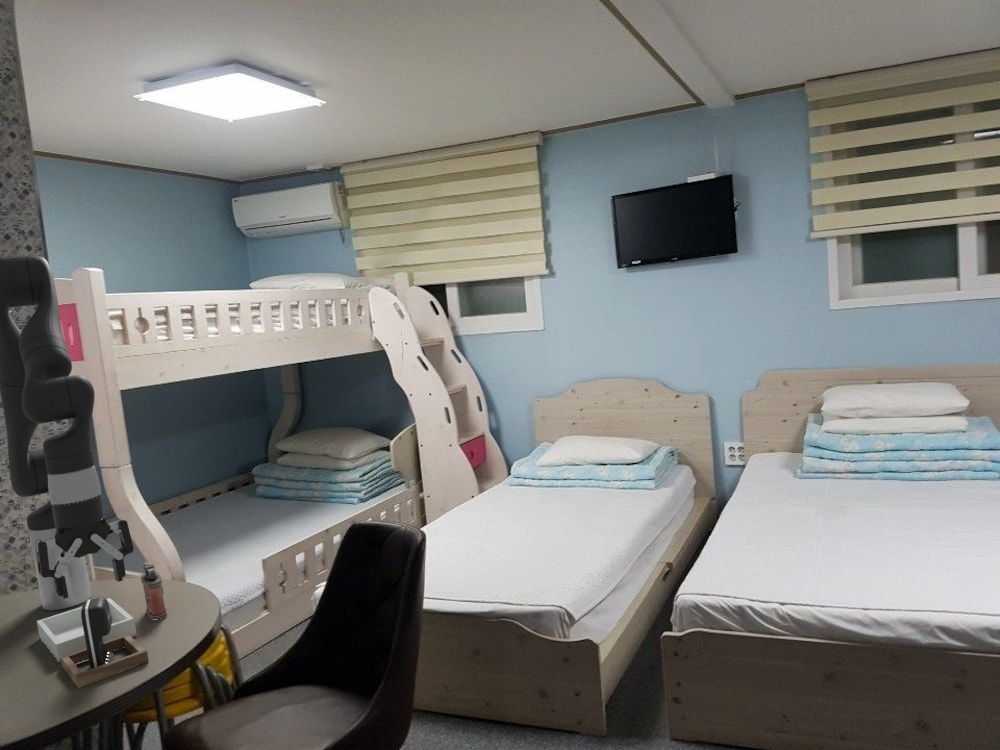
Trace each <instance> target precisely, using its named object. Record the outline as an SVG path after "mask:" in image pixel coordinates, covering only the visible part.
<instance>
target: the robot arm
mask: <svg viewBox="0 0 1000 750" xmlns="http://www.w3.org/2000/svg"><path fill="white" fill-rule="evenodd" d="M28 306H29V307H31V306H37V308H36V310H35V311H34V313H33V314H32V316H30V319H29V320H28V321H27V322H26V324H25V325H24V327H22V328H23V329H22V330H21V329H20V328H19V326H18V325H17V324H16V322H15V321H14V319H13V318H12V315H11V314H10V313H9V309H10V308H18V307H28ZM72 370H73V364H72V360H71V356H70V353H69V351H68V348H67V343H66V341H65V339H64V334H63V331H62V324H61V316H60V307H59V300H58V295H57V289H56V283H55V278H54V275H53V271H52V268H51V264H49V262H48V260H47V259H45V258H44V257H43V256H40V255H22V256H21V255H19V256H2V257H1V256H0V398H1V403H2V409H3V410H2V411H3V414H4V421H5V427H6V436H7V437H6V438H7V439H6V440H7V453H8V468H9V471H8V472H9V478H10V479H9V480H10V484H11V486H12V490H13V492H14V493H15V494H16V495H17V496H18V497H21V498H27V497H34V496H38V495H43V494H49V501H47V502H46V503H44V505H42V506H40V507H38V508H36V509H35V510H33V511H32V512H31V513H29V514H28V515H27V516H26V517H27V518H26V523H27V529H28V534H29V539H30V546H31V550H32V556H33V560H34V561H33V562H34V566H35V572H36V577H37V578H36V579H37V582H38V589H39V595H40V601H41V605H42V606H41V607H42V609H43V610H45V611H58V610H64V609H68V608H72V607H75V606H78V605H80V604H83V603H84V602H85V601H87V600H89V599H91V597H92V592H91V586H90V580H89V573H88V568H87V562H86V557H85V556H87V555H89V554H90V555H92V554H93V555H94V554H97V553H98V552H100V550H101V549H102V550H103V551H105V552H106V553H107V554H109V555H110V556H111V557H112V558H111V563H112V568H113V569H112V570H113V574H114V579H115V581H116V582H118V583H119V582H122V581H123V580H124V578H125V577H126V574H127V573H126V569H125V562H124V559H125V557H126V556H127V555H128V554H132V553H133V552H134V545H133V541H132V537H131V532H130V528H129V525H128V521H127V520H125V519H123V518H120V517H119V518H117V519H116V520H115V521H111V522H109V523H108V522H107V520H106V519H107V518H106V514H105V513H106V512H105V507H104V501H103V496H102V487H101V484H100V480H99V475H98V472H97V469H96V466H95V461H94V456H93V455H94V453H93V449H92V441H91V440H92V438H91V437H92V436H91V429H92V427H91V426H92V418H93V413H94V406H95V394H96V393H95V390H94V389H95V387H94V386H93V384H92V383H91V381H90V380H89V379H88V378H87V377H86V376H84V375H80V374H74V375H73V374H72V375H71V372H72ZM70 419H73V423H72V424H71V426H70V428H69V429H67V430H65V431H63V432H61V433H58V434H55V435H52V436H50V437H48V438H46V439H45V440H44V442H43V444H42V448H39V449H33V450H29V447H30V443H31V441H32V437H33V436H34V433H35V431H36V430H37V427H38V426H39V424H46V423H47V424H48V423H52V422H58V421H64V420H70ZM111 530H113V532H114V533H115V534H118V536H119V540H120V544H121V547H120V548H118V549H117V548H115V547H114V546H113V545H112V544H110V543H109V542H108V541H107V538H108V536H109V535H110V532H111Z"/></svg>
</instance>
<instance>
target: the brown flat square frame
mask: <svg viewBox="0 0 1000 750" xmlns="http://www.w3.org/2000/svg"><path fill="white" fill-rule="evenodd" d="M103 643H104V645H105V646H106V648H107V649H108V650H109V651H110V652H112V651H114V650H117V649H120V648H123V647H126V648H127V649H128V650H129V651H130V652H131V653H132V654H131V653H130V652H129V651H128V650H127V649H126V648H125V649H126V650H127V651H128V652H129V653H130V654H129V655H127V656H124V657H120V658H117V659H114V660H113V661H112V662H109V663H106V664H104V665H101V666H98V667H95V668H93V669H87V670H85V671H83V672H82V671H81V670H80V669H79V668H78V665H75V664H76V663H78V662H81V661H83V660H87V659H89V657H88V652H87V648H85V649H82V650H79V651H77V652H74V653H71V654H68V655H65V656H62V657H61V662H62V663H61V666H62V669H63V668H64V669H65V670H64V669H63V670H64V672H65V671H66V672H67V673H66V672H65V673H66V674H67V676H69V678H70V680H71V681H72V682H73V683H74V684H75V685H76V687H77V688H78V689H81V688H84V687H86V686H90V685H92V684H95V683H97V682H100V681H103V680H105V679H108V678H110V676H111V677H113V676H116V675H118V674H117V673H119V674H121V673H122V672H121V671H124V670H127V669H129V670H131V669H130V668H132V667H134V666H137V665H140V664H143V663H145V664H147V663H146V662H148V661H149V656H148V650H147V649H146V648H144V647H143V646H142V645H141V644H140V643H139V642H138V641H136V640H135V639H134V638H132V637H131V636H130V635H129V634H126V635H123V636H120V637H117V638H114V639H111V640H108V641H105V642H103ZM112 653H113V652H112ZM148 663H149V662H148ZM143 665H144V664H143ZM140 666H141V665H140ZM137 667H138V666H137ZM132 669H133V668H132ZM127 671H128V670H127ZM120 672H121V673H120ZM124 672H125V671H124ZM115 674H116V675H115ZM107 677H108V678H107ZM102 679H103V680H102ZM99 680H100V681H99Z"/></svg>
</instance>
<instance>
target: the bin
mask: <svg viewBox="0 0 1000 750" xmlns="http://www.w3.org/2000/svg"><path fill="white" fill-rule="evenodd" d="M105 599H106V600H107V601H108V604H109V608H110V612H111V617H112V624H111V630H110V633H109V634H108V635H106V636H103V637H102V638H103V642H105V641H108V640H111V639H114V638H117V637H120V636H123V635H126V634H129V635H130V636H131V637H134V636H137V629H136V623H135V618H134V617H133V616H132V615H130V614H129V613H128V612H127V611H125V610H124V609H123V608H122V607H121V606H120V605H119V604H117V603H116V602H115V601H114V600H112V599H111V598H110V597H108V598H105ZM81 610H82V606H80V607H77V608H74V609H70V610H67V611H65V612H62V613H57V614H55V615H52V616H49V617H48V616H47V617H45V618H42V619H38V620H36V626H37V631H38V636H39V640H40V639H41V640H40V641H41V642H42V643H43V645H44V644H45V645H46V646H47V647H46V646H45V645H44V646H45V647H46V648H48V649H49V650H50V651H49V650H48V651H49V652H50V653H52V654H53V655H54V656H53V655H52V654H51V655H52V656H53V658H54V657H55V658H56V659H57V660H58V661H59V662H61V657H62V656H65V655H68V654H71V653H74V652H77V651H79V650H82V649H85V648H87V647H86V641H85V636H84V630H83V624H82V618H81ZM137 637H138V636H137ZM134 638H135V637H134ZM55 658H54V659H55ZM56 659H55V660H56ZM57 660H56V661H57ZM58 661H57V662H58Z"/></svg>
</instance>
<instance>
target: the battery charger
mask: <svg viewBox="0 0 1000 750" xmlns="http://www.w3.org/2000/svg"><path fill="white" fill-rule="evenodd" d="M106 599H107V598H105V597H96V598H89V599H88V600H86V601H85V602H83V603H82V606H81V607H82V610H81V618H82V624H83V630H84V636H85V641H86V647H87V652H88V657H89V661H88V662H89V667H90V669H93V668H95V667H98V666H101V665H104V664H106V663H109V662H112V661H114V657H115V656H114V652H112V653H111V652H110V651H109V650H108V649H107V648H106V646H105V645H104V643H103V638H102V637H103V636H106V635H108V634H109V633H110V630H111V624H112V617H111V612H110V608H109V604H108V601H107V600H106ZM90 669H89V670H90Z"/></svg>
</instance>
